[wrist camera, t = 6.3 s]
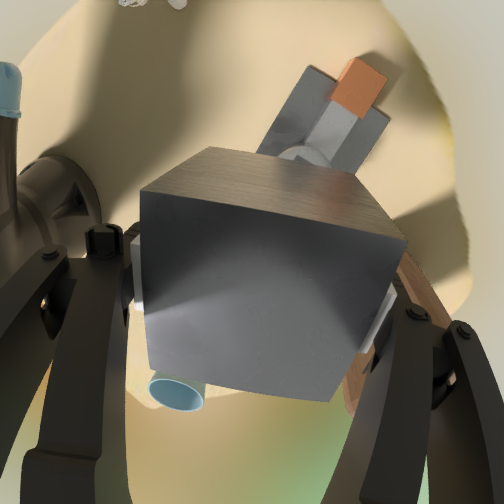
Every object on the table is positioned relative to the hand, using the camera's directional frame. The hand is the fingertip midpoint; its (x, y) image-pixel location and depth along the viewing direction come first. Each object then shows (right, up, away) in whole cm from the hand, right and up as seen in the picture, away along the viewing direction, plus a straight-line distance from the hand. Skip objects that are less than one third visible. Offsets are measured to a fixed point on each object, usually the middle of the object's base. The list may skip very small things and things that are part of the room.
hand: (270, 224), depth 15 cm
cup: (-10, -15, +30) cm, 35 cm away
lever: (+6, +10, +14) cm, 18 cm away
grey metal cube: (0, 0, 0) cm, 0 cm away
